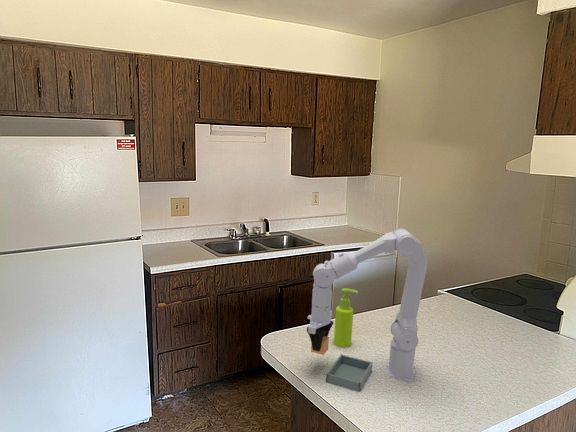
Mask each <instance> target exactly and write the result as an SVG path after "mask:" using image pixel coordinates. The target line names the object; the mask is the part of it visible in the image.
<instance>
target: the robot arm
mask: <svg viewBox="0 0 576 432" xmlns="http://www.w3.org/2000/svg"><path fill="white" fill-rule="evenodd" d="M396 251H397V253H398V254H399V255H401V256H402V257H404V258H405V259H406V260H407V262H408V266H407V270H406V276H405V282H404V286H403V291H402V296H401V302H400V305H399V306H400V307H399V311H398V313H397V314H396V316H395V318H394V321H393V322H391V325H390V332H391V333H390V334H392V340H391V341H390V348H389V349H390V350H389V359H388V360H389V362H388V366H387V369H386V370H385V373H384V375H386V376H389V377H391V378H396V379H400V380H403V381H408V382H413V379H414V377H415V374H416V372H417V368H418V367H417V366H416V365H415V358H416V357H415V356H416V348H417V347H418V344H419V337H418V322H417V317H418V313H419V308H420V307H419V306H420V304H421V298H422V292H423V288H424V284H425V280H426V279H425V278H426V273H427V268H428V264H429V260H428V258H427V255H426V252H425V251H424V248H423V244H422V242H420V240H419V239H418V238H417V237H416V236H414V235H413V233H410V231H409V230H407V229H405V228H403V227H402V228H401V227H400V228H396V229H395V230H393V231H390V232H387V233H385V234H383V236H381V237H379V238H377V239H376V240H374V241H372V242H370V243H368V244H367V245H365V246H363V247H361V248H360V249H358V250H356V251H354V252H348V251H346V252H343V251H342V252H340V253H338V256H336V257H334V258H332V259H330V260H325V261H324V263H318V264H317V265H316V266H315V267H314V268H313V271H312V276H313V284H312V285H313V288H312V296H311V314H309V315H308V316H307V319H308V320H309V325H308V326H307V327H306V333H307V334H308V336H309V339H310V342H311V343H312V348H313V350H315V351H320V349H321V345H322V340H323V337H324V336H327V337H329V333H330V331H331V328H332V327H333V325H334V321H333V320H332V317H333V311H332V300H333V299H332V297H333V290H332V287H333V286H332V285H333V284H334V282H335V280H338V279H340V278H342V277H344V276H346V275H348V274H350V273H351V272H352V273H353V272H354V271H355V270H357V269H358V265H359V264H360V263H363V262H365V261H367V260H369V259H372V258H373V257H376V256H378V255H380V254H382V253H386V254H390V255H391V254H392V255H396Z"/></svg>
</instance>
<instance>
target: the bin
mask: <svg viewBox="0 0 576 432" xmlns="http://www.w3.org/2000/svg"><path fill="white" fill-rule="evenodd" d="M372 372H373V362H371V361H367V360H363V359H360V358H356V357H352V356H349V355H344V354H340V355H339V356H338V358H337V359H336V360H335V362H334V363H333V365H332V366H331V367H330V369H329V370H328V371H327V372H326V375H325V382H326V383H327V384H331V385H335V386H338V387H341V388H345V389H347V390H352V391H356V392H361V390H362V389H363V387H364V385H365V383H366V382H367V379H368V378H369V376H370V374H371V373H372Z"/></svg>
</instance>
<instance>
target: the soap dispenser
mask: <svg viewBox="0 0 576 432" xmlns="http://www.w3.org/2000/svg"><path fill="white" fill-rule="evenodd" d="M341 293H343V294H342V296H341V297H340V300H339V305H338V306H336V307H335V316H334V317H335V318H334V319H335V320H334V335H333V345H334V346H336V347H338V348H344V349H345V348H349V347H351V346H352V337H353V335H352V334H353V319H354V308H353V307H351V299H350V298H349V293H353V294H356V295H357V294H358V293H359V290H356V289H353V288H344V287H343V288H341Z"/></svg>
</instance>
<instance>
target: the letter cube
mask: <svg viewBox="0 0 576 432" xmlns="http://www.w3.org/2000/svg"><path fill="white" fill-rule="evenodd" d="M329 341H330V337H329V336H328V337H327V336H324V337H323V340H322V345H321V349H320V351H315V350H313V348H312V343H311V346H310V347H311V349H310V352H311V353H315V354H318V355H319V354H320V355H323V356H325V354H326V352H327V351H328V350H329Z"/></svg>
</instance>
